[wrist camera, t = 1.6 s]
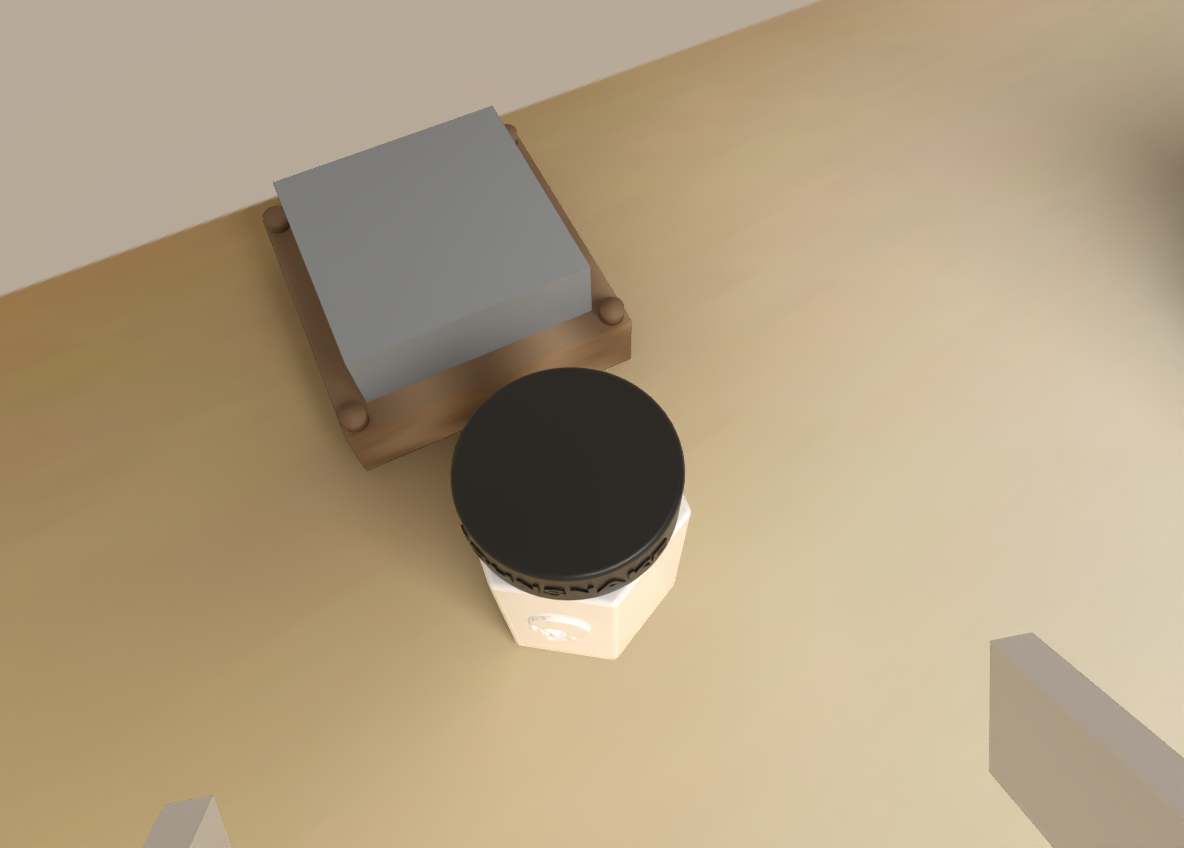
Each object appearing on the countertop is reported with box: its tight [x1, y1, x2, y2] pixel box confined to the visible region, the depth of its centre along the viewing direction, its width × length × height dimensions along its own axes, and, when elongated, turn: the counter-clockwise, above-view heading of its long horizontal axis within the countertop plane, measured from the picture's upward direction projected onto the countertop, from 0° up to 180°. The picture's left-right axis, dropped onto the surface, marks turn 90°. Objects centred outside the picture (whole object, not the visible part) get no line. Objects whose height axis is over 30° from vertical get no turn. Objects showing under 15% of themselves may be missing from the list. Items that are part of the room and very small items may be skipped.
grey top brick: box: [273, 106, 592, 402], centre depth 41 cm, size 12×12×4 cm
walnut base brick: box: [263, 124, 632, 471], centre depth 44 cm, size 15×15×4 cm
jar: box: [451, 367, 691, 660], centre depth 33 cm, size 9×8×12 cm
